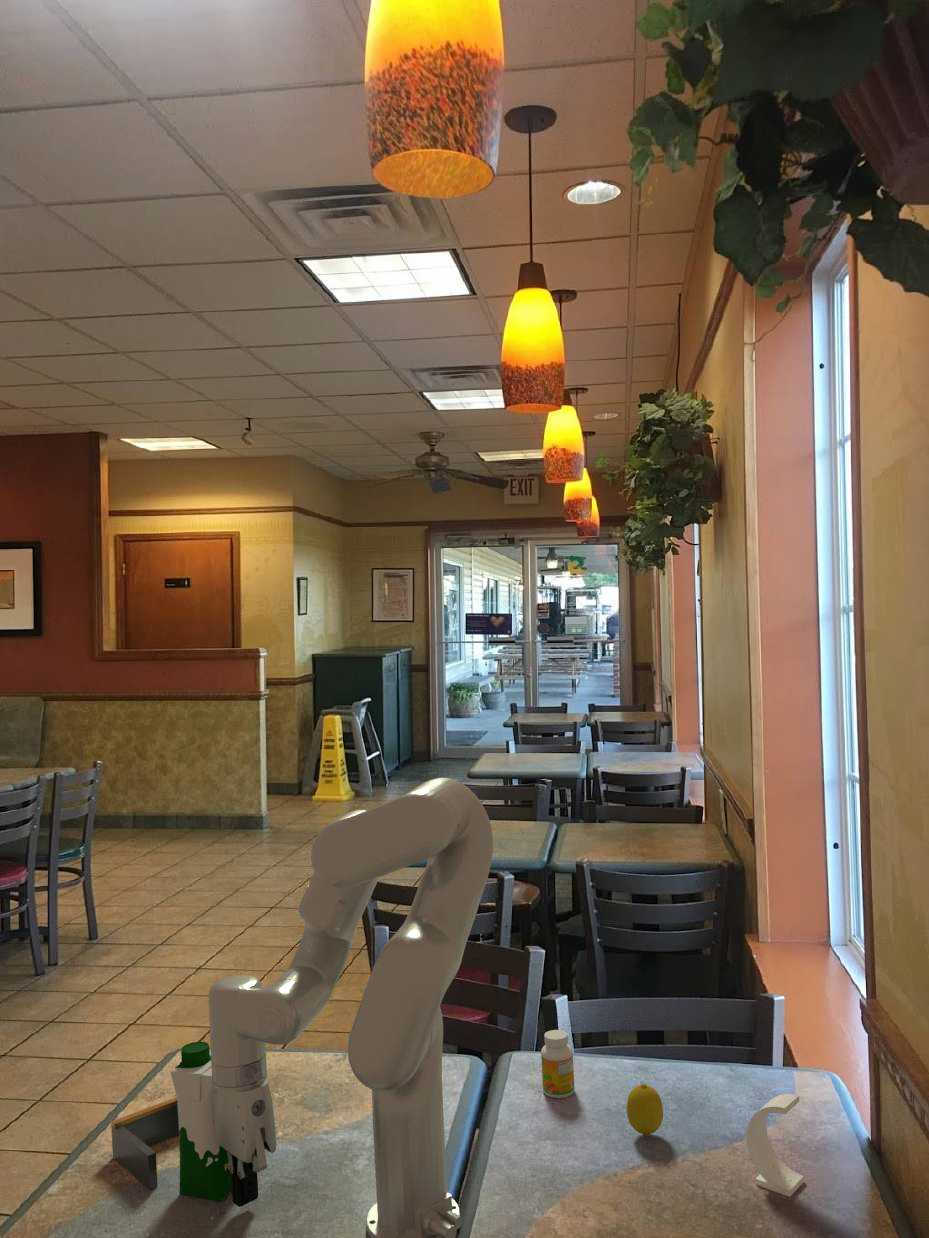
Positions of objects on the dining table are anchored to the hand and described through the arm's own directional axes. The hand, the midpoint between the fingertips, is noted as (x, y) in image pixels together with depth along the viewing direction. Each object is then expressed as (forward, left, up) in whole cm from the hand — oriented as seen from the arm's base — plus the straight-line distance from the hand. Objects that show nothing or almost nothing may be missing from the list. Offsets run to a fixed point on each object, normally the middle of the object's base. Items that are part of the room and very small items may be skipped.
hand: (245, 1200), depth 138 cm
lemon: (-29, -53, -2) cm, 60 cm away
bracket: (+21, 0, -1) cm, 21 cm away
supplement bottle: (-9, -55, -2) cm, 56 cm away
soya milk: (+9, 0, -2) cm, 9 cm away
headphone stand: (-50, -55, -2) cm, 74 cm away
